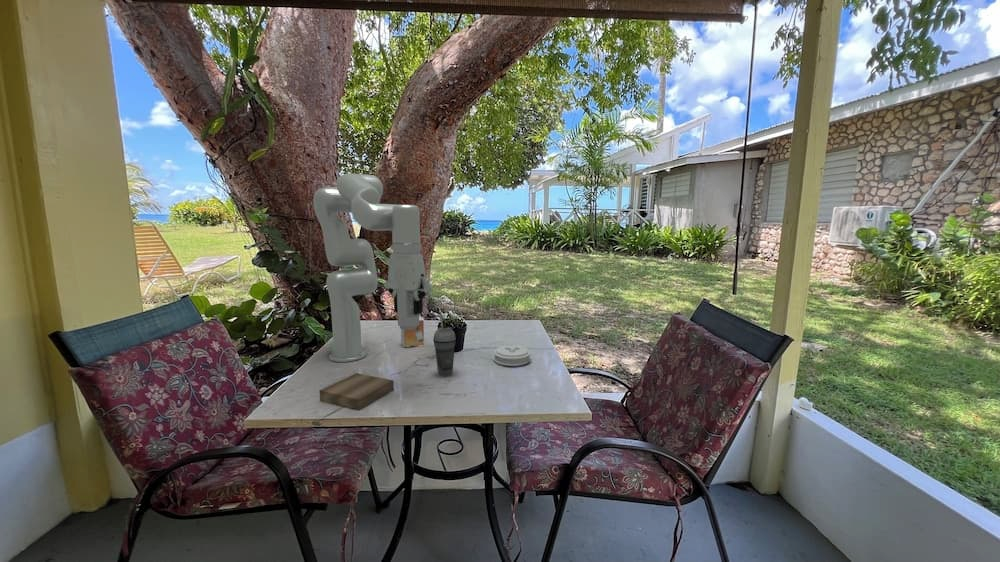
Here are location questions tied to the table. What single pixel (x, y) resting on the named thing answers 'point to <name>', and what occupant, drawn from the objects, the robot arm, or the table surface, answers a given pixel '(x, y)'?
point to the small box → (413, 335)
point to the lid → (512, 355)
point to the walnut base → (357, 391)
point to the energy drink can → (406, 308)
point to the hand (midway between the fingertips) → (408, 311)
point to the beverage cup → (444, 349)
